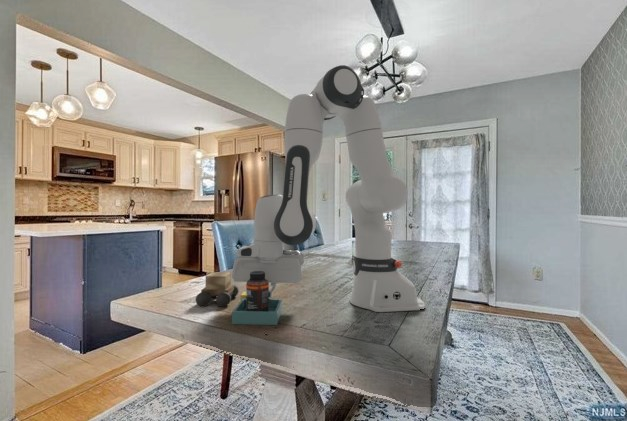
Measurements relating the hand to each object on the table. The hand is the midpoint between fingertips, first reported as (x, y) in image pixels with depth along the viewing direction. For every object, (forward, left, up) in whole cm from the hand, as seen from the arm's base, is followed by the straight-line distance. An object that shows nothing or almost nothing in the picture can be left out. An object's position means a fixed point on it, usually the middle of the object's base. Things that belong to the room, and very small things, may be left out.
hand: (267, 297), depth 89 cm
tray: (+1, +8, -3) cm, 8 cm away
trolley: (+16, -5, -3) cm, 17 cm away
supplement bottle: (+1, +8, -3) cm, 8 cm away
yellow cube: (+5, -1, -3) cm, 6 cm away
